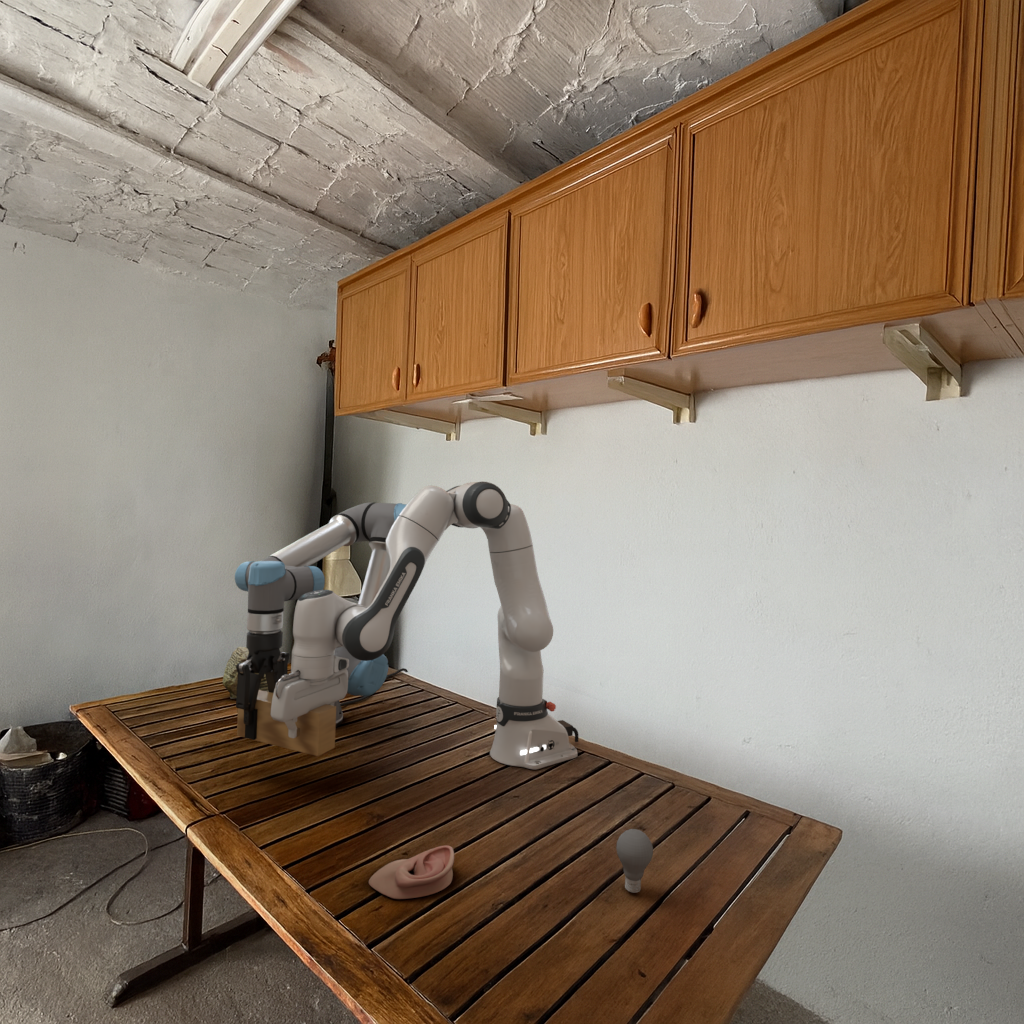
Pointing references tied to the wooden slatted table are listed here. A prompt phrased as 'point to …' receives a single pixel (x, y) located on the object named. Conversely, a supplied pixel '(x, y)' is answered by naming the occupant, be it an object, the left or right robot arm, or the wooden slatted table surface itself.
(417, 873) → the anatomical model
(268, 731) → the bar
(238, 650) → the fossil
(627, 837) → the light bulb
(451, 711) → the wooden slatted table surface
